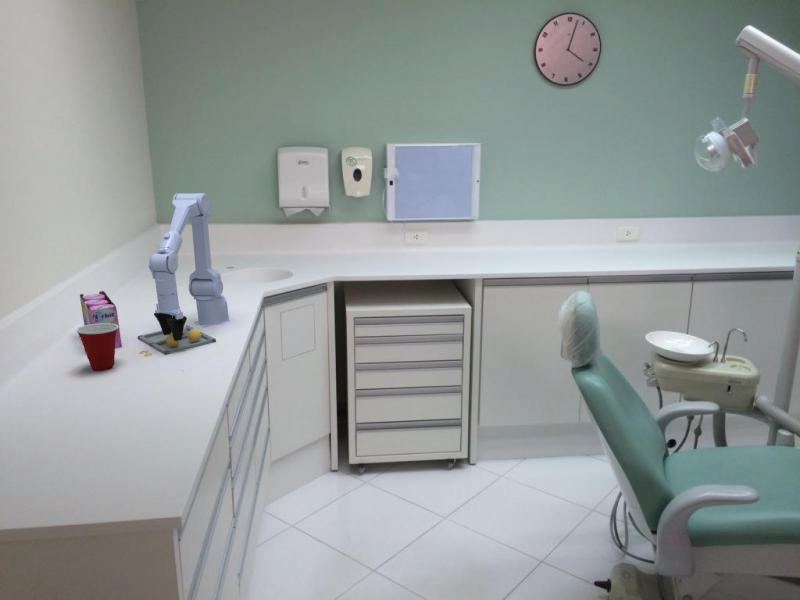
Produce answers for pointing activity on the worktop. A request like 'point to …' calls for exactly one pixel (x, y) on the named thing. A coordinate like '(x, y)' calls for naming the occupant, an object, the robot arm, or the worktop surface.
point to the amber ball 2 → (194, 335)
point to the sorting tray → (159, 343)
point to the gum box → (100, 312)
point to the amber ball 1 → (171, 341)
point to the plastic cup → (99, 344)
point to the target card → (146, 354)
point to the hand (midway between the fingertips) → (172, 337)
